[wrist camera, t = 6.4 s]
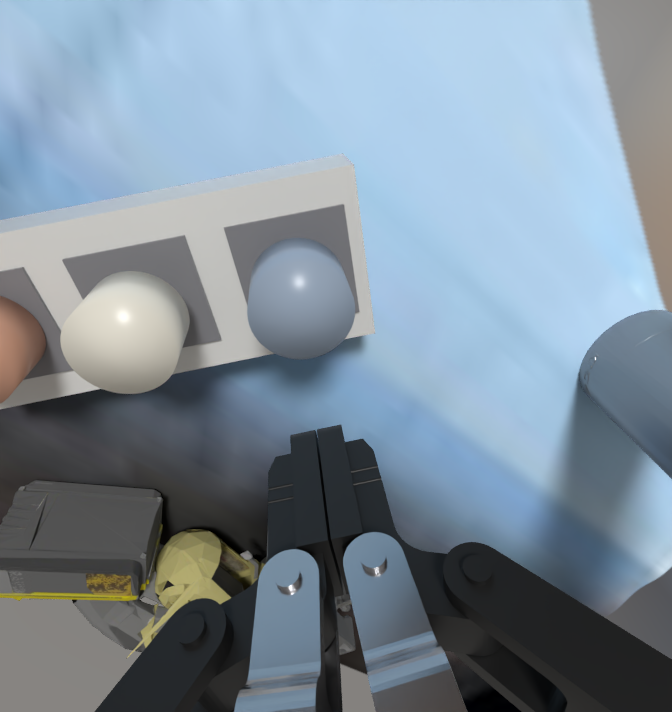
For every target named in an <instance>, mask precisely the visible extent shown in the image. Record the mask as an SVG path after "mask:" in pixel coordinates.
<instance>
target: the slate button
mask: <svg viewBox="0 0 672 712" xmlns="http://www.w3.org/2000/svg"><path fill="white" fill-rule="evenodd" d="M247 317H248V322H249V326H250V328H251V331H252V333H253V334H254V336H255V337H256V339H257V340H258V341H259V342H260V343H261V344H262V345H263V346H264V347H265V348H266V349H268V350H269V351H271V352H273V353H275V354H277V355H279V356H282V357H285V358H290V359H310V358H315V357H319V356H321V355H324V354H326V353H328V352H330V351H331V350H333V349H334V348H336V347H337V346H338V345H339V344H340V343H341V342H342V341H343V340H344V339H345V338H346V336H347V335H348V334H349V332H350V330H351V328H352V325H353V322H354V318H355V302H354V297H353V295H352V292H351V289H350V287H349V284H348V281H347V279H346V276H345V274H344V271H343V268H342V266H341V263H340V262H339V260H338V258H337V257H336V256H335V254H334V253H333V252H332V251H331V250H330V249H329V248H327V247H326V246H324V245H323V244H321V243H319V242H317V241H314V240H311V239H306V238H289V239H285V240H281V241H279V242H276V243H275V244H273V245H271V246H270V247H268V248H267V249H266V250H265V251H264V252H263V253H262V254H261V255H260V256H259V257H258V259H257V260H256V262H255V264H254V266H253V269H252V273H251V278H250V288H249V297H248V306H247Z"/></svg>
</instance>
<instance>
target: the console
mask: <svg viewBox="0 0 672 712" xmlns="http://www.w3.org/2000/svg"><path fill="white" fill-rule="evenodd" d="M289 238H306V239H311V240H314V241H317V242H319V243H321V244H323V245H324V246H326V247H327V248H329V249H330V250H331V251H332V252H333V253H334V254H335V256H336V257H337V258H338V260H339V262H340V263H341V266H342V268H343V271H344V274H345V276H346V279H347V281H348V284H349V287H350V289H351V292H352V295H353V297H354V302H355V318H354V322H353V325H352V328H351V330H350V332H349V334H348V335H347V336H346V338H345V339H349V338H354V337H358V336H363V335H368V334H373V333H375V328H374V320H373V313H372V305H371V297H370V289H369V281H368V273H367V265H366V257H365V249H364V241H363V233H362V225H361V217H360V210H359V202H358V194H357V186H356V178H355V170H354V164H353V163H352V162H351V161H350V160H349V159H348V158H347V157H346V156H345V155H344V154H338V155H333V156H328V157H322V158H317V159H312V160H307V161H302V162H297V163H292V164H286V165H281V166H276V167H271V168H266V169H261V170H256V171H250V172H245V173H240V174H235V175H230V176H225V177H220V178H214V179H209V180H204V181H199V182H194V183H189V184H184V185H178V186H173V187H168V188H163V189H158V190H153V191H148V192H142V193H137V194H132V195H127V196H122V197H117V198H112V199H106V200H101V201H96V202H91V203H86V204H81V205H75V206H70V207H65V208H60V209H55V210H50V211H45V212H39V213H34V214H29V215H24V216H19V217H14V218H9V219H3V220H0V296H2V297H5V298H8V299H10V300H12V301H14V302H16V303H17V304H19V305H21V306H22V307H23V308H25V309H26V310H27V311H28V312H30V313H31V314H32V315H33V316H34V318H35V319H36V320H37V321H38V323H39V324H40V326H41V327H42V329H43V332H44V334H45V339H46V348H45V352H44V355H43V356H42V358H41V359H40V360H39V362H38V363H37V364H36V365H35V366H34V368H33V369H32V370H31V371H30V372H29V374H28V375H27V376H26V377H25V378H24V380H23V381H22V382H21V383H20V384H19V385H18V387H17V388H16V389H15V390H14V391H13V393H12V394H11V395H10V396H9V397H8V398H7V399H6V400H5V401H4V402H2V403H0V409H4V408H9V407H14V406H19V405H24V404H29V403H33V402H38V401H43V400H48V399H53V398H58V397H63V396H68V395H73V394H78V393H83V392H88V391H93V390H97V389H101V388H98V387H96V386H94V385H92V384H90V383H89V382H87V381H86V380H84V379H83V378H81V377H80V376H79V375H78V374H77V373H76V372H75V371H74V370H73V369H72V368H71V367H70V365H69V364H68V362H67V361H66V359H65V357H64V355H63V352H62V349H61V343H60V336H61V330H62V327H63V325H64V323H65V321H66V319H67V318H68V317H69V316H70V315H71V314H72V312H73V311H74V310H75V309H76V308H77V307H78V306H79V304H80V303H81V302H82V301H83V300H84V299H85V297H86V296H87V295H88V294H89V293H90V292H91V291H92V289H93V288H94V287H95V286H96V285H97V284H98V283H99V282H100V281H101V280H102V279H104V278H105V277H107V276H109V275H111V274H114V273H118V272H123V271H138V272H144V273H148V274H151V275H154V276H156V277H158V278H160V279H162V280H164V281H165V282H167V283H168V284H170V285H171V286H172V287H173V288H174V289H175V290H176V291H177V292H178V293H179V294H180V295H181V297H182V298H183V300H184V302H185V304H186V306H187V309H188V312H189V320H190V323H189V329H188V332H187V335H186V338H185V341H184V344H183V347H182V350H181V353H180V356H179V359H178V362H177V365H176V368H175V370H174V372H173V374H176V373H181V372H186V371H191V370H196V369H201V368H206V367H211V366H216V365H221V364H226V363H230V362H235V361H240V360H245V359H250V358H255V357H260V356H265V355H270V354H275V353H273V352H271V351H269V350H268V349H266V348H265V347H264V346H263V345H262V344H261V343H260V342H259V341H258V340H257V339H256V337H255V336H254V334H253V333H252V331H251V328H250V326H249V322H248V317H247V306H248V297H249V288H250V278H251V273H252V269H253V266H254V264H255V262H256V260H257V259H258V257H259V256H260V255H261V254H262V253H263V252H264V251H265V250H266V249H267V248H268V247H270V246H271V245H273V244H275V243H276V242H279V241H281V240H285V239H289Z"/></svg>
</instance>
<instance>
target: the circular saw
mask: <svg viewBox="0 0 672 712" xmlns="http://www.w3.org/2000/svg"><path fill="white" fill-rule="evenodd" d="M162 505H163V499H162V498H161V493H159V492H158V491H156V490H154V489H141V488H128V487H116V486H103V485H91V484H78V483H66V482H53V481H41V480H35V481H33V482H31V483H29V485H25V487H20V488H19V490H18V491H17V492H16V493H15V496H14V499H13V505H12V507H10V508H9V510H8V514H7V515H6V516H5V517H4V518H3V520H2V521H3V522H2V524H1V525H0V598H2V597H3V598H14V599H16V600H19V601H20V600H21V599H22V598H26V599H72V601H73V603H74V605H75V606H76V607H77V608H78V609H79V611H80V612H81V613H82V614H83V615H84V617H86V619H87V620H88V621H89V622H90V624H91V625H92V626H93V627H95V628H96V629H98V630H99V631H100V632H101V633H102V634H103V635H105V636H106V637H108V638H110V639H111V640H113V641H114V642H116V643H117V644H119V645H120V646H122V647H123V648H125V649H129V650H133V651H132V652H131V653H133V652H134V651H138V652H143V651H144V650H145V649H146V647H147V646H148V645H149V644H150V642H151V641H152V640H153V639H154V637H155V636H156V635H157V634H158V632H159V631H160V630H161V629H162V627H163V626H164V625H165V624H166V622H167V621H168V620H169V619H170V617H171V616H172V615H173V614H174V613H175V612H176V611H177V610H178V609H179V608H180V607H182V606H183V605H185V604H186V603H188V602H190V601H192V600H195V599H200V598H208V599H212V600H214V601H216V602H218V603H219V604H222V603H223V602H225V601H227V600H229V599H230V598H232V597H234V596H236V595H237V594H239V593H241V592H243V591H244V590H246V589H247V588H248V587H250V586H251V585H252V584H253V583H254V582H255V581H256V580H257V579H258V577H259V576H260V573H261V571H262V569H263V567H264V566H265V564H266V561H267V557H265V558H264V559H263V560H262V561H261V562H260V563H259V562H258V561H257V560H256V559H254V558H253V555H252V554H251V553H250V552H249V551H246V552H243V553H241V554H240V555H241V556H240V555H239V554H238V553H237V552H236V551H235V550H233V549H232V548H231V547H230V546H229V545H227V544H226V543H225V542H224V541H223V540H222V539H220V538H219V537H218V536H217V535H216V534H215V533H212V532H210V531H207V530H200V529H191V530H187V531H182V532H180V533H178V534H176V535H174V536H172V537H171V539H170V540H169V541H168V542H167V543H166V544H165V545H163V544H161V543H159V542H160V538H161V534H162V528H163V525H162V524H161V521H162ZM267 555H268V537H267ZM341 579H342V577H341ZM167 580H168V581H170V582H171V583H172V584H173V585H175V586H172V587H169V588H167V589H165V590H164V591H163V589H164V587H165V584H166V582H167ZM342 586H343V593H344V595H343V596H338V597H335V604H336V612H337V609H338V608H340V609H341V610H342V611H346V612H348V611H349V610H350V609H351V607H350V604H352V602H351V600H350V599H349V594H346V591H345V588H344V584H343V581H342ZM162 591H163V592H162ZM143 597H147V598H149V599H152V600H153V601H156V602H158V603H160V604H162V605H163V606H164V607H160V606H158V604H156V605H150V604H147V603H144V602H142V601H141V600H140V598H141V599H142V598H143ZM337 622H338V625H337V627H338V634H339V654H340V655H342V654H345V653H348V652H351V651H354V650H355V641H354V632H353V624H352V617H350V616H348V615H346V616H341V615H340V614H339V613H338V612H337ZM130 655H131V654H130ZM130 655H129V656H130Z"/></svg>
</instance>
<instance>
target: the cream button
mask: <svg viewBox="0 0 672 712" xmlns="http://www.w3.org/2000/svg"><path fill="white" fill-rule="evenodd" d="M189 323H190V320H189V312H188V309H187V306H186V304H185V302H184V300H183V298H182V297H181V295H180V294H179V293H178V292H177V291H176V290H175V289H174V288H173V287H172V286H171V285H170V284H168V283H167V282H165V281H164V280H162V279H160V278H158V277H156V276H154V275H151V274H148V273H144V272H138V271H123V272H118V273H114V274H111V275H109V276H107V277H105V278H104V279H102V280H101V281H100V282H99V283H98V284H97V285H96V286H95V287H94V288H93V289H92V291H91V292H90V293H89V294H88V295H87V296H86V297H85V299H84V300H83V301H82V302H81V303H80V304H79V306H78V307H77V308H76V309H75V310H74V311H73V312H72V314H71V315H70V316H69V317H68V318H67V319H66V321H65V323H64V325H63V327H62V330H61V336H60V343H61V349H62V352H63V355H64V357H65V359H66V361H67V362H68V364H69V365H70V367H71V368H72V369H73V370H74V371H75V372H76V373H77V374H78V375H79V376H80V377H81V378H83V379H84V380H86V381H87V382H89V383H90V384H92V385H94V386H96V387H98V388H101V389H104V390H106V391H110V392H114V393H121V394H137V393H143V392H147V391H150V390H153V389H155V388H157V387H159V386H161V385H162V384H163V383H165V382H166V381H167V380H168V379H169V378H170V376H171V375H172V374H173V372H174V370H175V368H176V365H177V362H178V359H179V356H180V353H181V350H182V347H183V344H184V341H185V338H186V335H187V332H188V329H189Z"/></svg>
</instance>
